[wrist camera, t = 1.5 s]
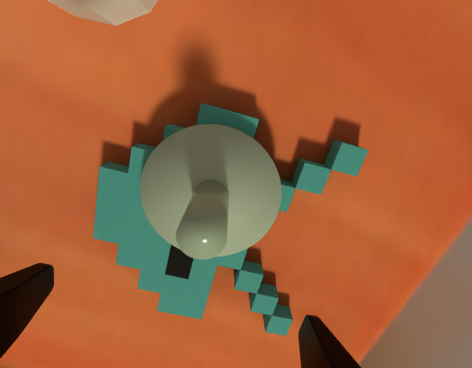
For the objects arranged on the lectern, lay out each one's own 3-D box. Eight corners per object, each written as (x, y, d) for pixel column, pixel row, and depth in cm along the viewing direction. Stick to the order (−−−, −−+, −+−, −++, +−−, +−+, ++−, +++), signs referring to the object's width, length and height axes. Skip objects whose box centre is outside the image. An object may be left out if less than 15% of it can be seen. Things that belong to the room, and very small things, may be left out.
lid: (137, 236, 21) (94, 298, 15) (153, 107, 18) (105, 111, 11) (259, 260, 22) (270, 328, 15) (296, 142, 19) (331, 165, 12)
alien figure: (354, 145, 21) (121, 80, 19) (368, 149, 19) (107, 77, 17) (281, 317, 27) (99, 280, 25) (285, 335, 25) (87, 297, 23)
